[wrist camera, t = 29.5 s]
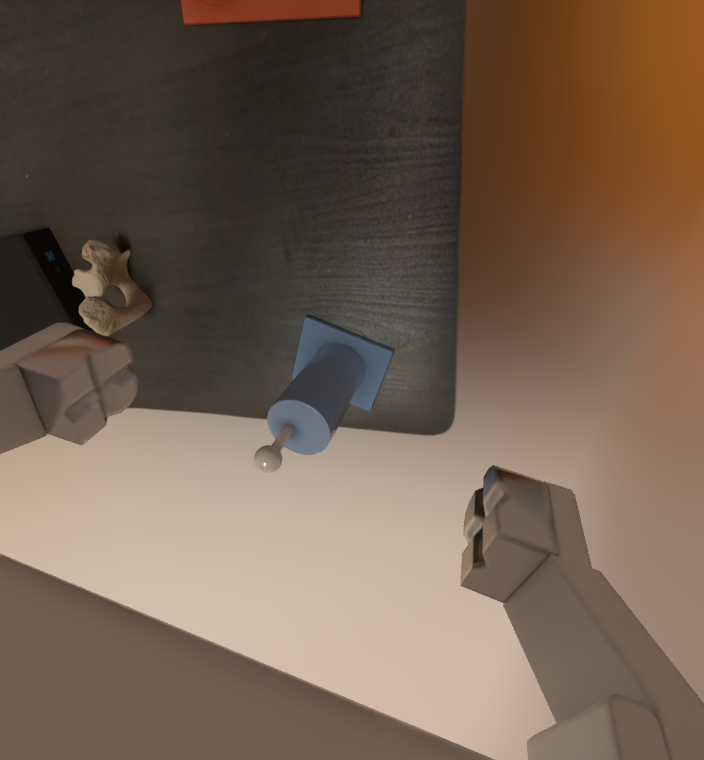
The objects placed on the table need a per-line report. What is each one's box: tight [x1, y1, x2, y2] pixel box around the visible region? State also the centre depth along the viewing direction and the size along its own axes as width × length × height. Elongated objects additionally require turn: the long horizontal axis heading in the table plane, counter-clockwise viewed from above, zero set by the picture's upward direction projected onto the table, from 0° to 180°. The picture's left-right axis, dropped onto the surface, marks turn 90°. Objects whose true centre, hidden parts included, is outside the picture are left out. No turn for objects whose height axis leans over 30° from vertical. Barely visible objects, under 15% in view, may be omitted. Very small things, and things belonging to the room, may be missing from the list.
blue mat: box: [292, 315, 394, 412], centre depth 39 cm, size 9×8×1 cm
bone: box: [72, 240, 152, 336], centre depth 39 cm, size 9×6×10 cm
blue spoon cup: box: [254, 343, 365, 474], centre depth 33 cm, size 5×5×15 cm
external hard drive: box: [0, 229, 95, 351], centre depth 48 cm, size 14×23×3 cm, turn 102°
